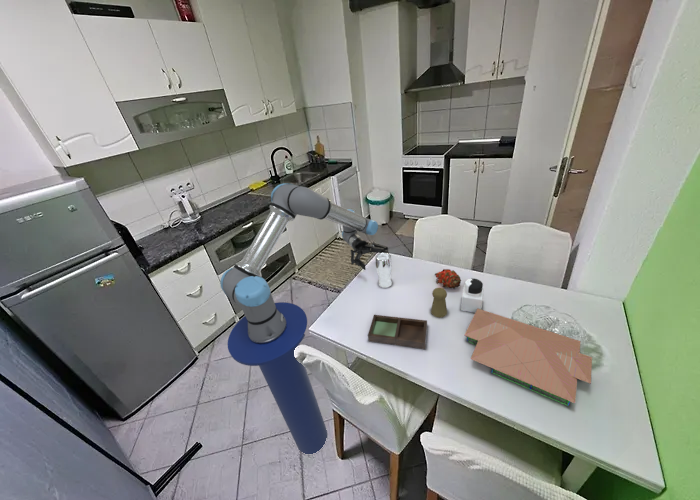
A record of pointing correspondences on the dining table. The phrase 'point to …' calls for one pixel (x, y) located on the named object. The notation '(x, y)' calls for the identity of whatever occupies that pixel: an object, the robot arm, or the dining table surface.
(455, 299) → the dining table surface
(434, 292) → the salt shaker
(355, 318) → the dining table surface
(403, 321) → the caddy
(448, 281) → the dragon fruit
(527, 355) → the house
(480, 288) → the medicine bottle
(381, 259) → the beer glass
